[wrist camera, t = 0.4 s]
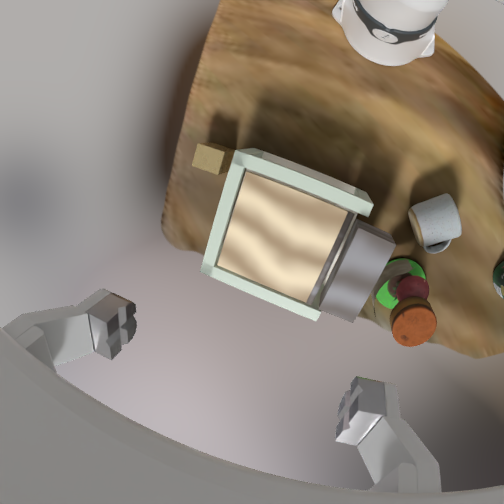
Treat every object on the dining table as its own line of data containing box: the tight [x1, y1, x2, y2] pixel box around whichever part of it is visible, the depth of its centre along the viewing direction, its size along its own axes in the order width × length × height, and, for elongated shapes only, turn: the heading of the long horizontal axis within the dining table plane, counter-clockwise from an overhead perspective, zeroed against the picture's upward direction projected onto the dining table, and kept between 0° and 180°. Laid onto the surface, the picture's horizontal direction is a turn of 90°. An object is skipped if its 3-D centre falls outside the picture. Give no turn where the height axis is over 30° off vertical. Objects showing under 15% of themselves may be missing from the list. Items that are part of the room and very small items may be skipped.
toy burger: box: [371, 258, 437, 347], centre depth 46 cm, size 12×13×15 cm
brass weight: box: [192, 143, 235, 175], centre depth 51 cm, size 4×5×6 cm
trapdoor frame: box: [200, 148, 374, 321], centre depth 50 cm, size 21×21×10 cm
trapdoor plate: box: [217, 171, 396, 323], centre depth 45 cm, size 16×24×5 cm
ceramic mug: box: [408, 193, 462, 253], centre depth 44 cm, size 11×8×8 cm
